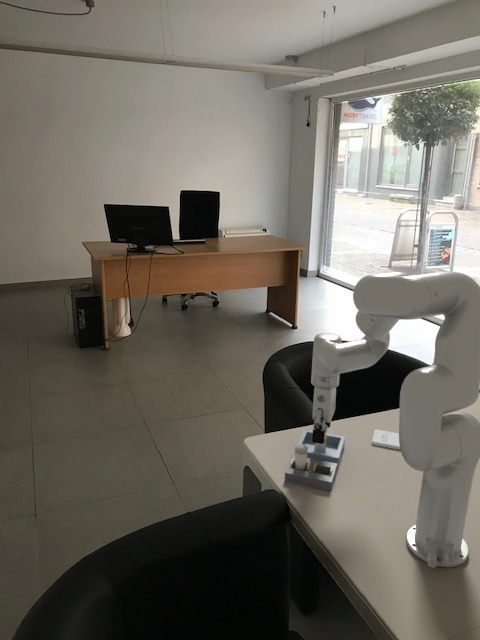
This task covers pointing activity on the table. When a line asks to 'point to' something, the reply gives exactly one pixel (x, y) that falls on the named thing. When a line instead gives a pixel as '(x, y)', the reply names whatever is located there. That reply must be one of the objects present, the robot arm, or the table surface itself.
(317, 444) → the marked fuse
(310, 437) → the tray
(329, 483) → the fuse holder
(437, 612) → the table surface
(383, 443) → the external hard drive
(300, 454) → the fuse
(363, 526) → the table surface
